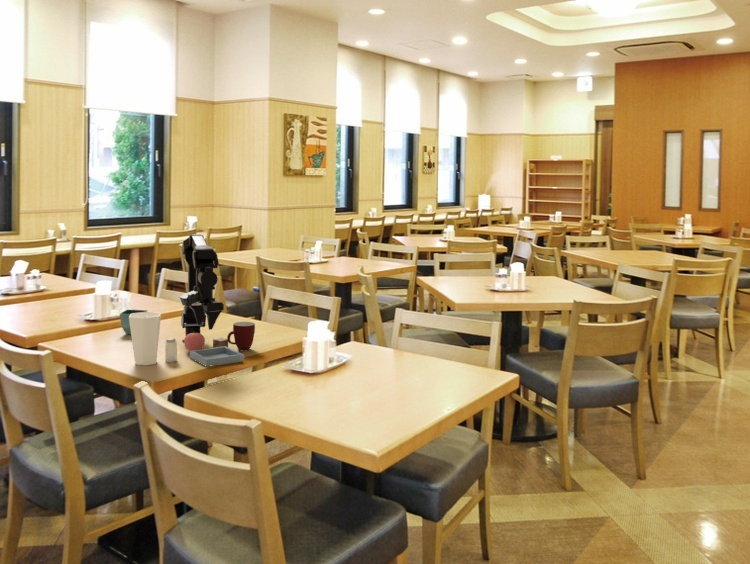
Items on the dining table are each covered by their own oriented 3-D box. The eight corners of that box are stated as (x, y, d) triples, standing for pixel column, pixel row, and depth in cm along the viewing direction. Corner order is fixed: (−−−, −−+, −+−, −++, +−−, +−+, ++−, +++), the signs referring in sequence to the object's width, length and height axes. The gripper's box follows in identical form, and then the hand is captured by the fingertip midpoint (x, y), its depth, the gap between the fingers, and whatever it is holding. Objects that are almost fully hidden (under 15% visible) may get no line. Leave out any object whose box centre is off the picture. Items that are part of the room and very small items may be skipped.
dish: (189, 358, 259) (189, 351, 258) (225, 353, 267) (225, 346, 267) (206, 367, 248) (206, 359, 247) (243, 361, 256) (243, 354, 256)
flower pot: (141, 336, 290) (140, 314, 288) (119, 335, 290) (119, 313, 288) (148, 331, 298) (148, 310, 297) (127, 330, 298) (126, 309, 297)
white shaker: (163, 360, 255) (163, 338, 253) (174, 358, 257) (174, 337, 256) (167, 362, 252) (167, 341, 250) (178, 361, 254) (178, 339, 253)
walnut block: (213, 349, 272) (213, 339, 271) (221, 347, 275) (221, 337, 275) (220, 351, 270) (220, 341, 269) (228, 349, 273) (228, 339, 272)
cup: (168, 361, 254) (167, 313, 251) (150, 368, 244) (149, 319, 241) (141, 357, 257) (140, 310, 255) (123, 364, 248) (121, 316, 245)
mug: (233, 354, 266) (233, 327, 264) (223, 349, 272) (223, 323, 270) (258, 350, 273) (258, 324, 271) (248, 346, 279) (248, 320, 277)
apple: (186, 355, 262) (186, 334, 261) (182, 350, 269) (182, 329, 267) (207, 353, 266) (207, 332, 264) (202, 349, 272) (202, 328, 271)
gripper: (171, 281, 254) (172, 324, 256) (194, 288, 240) (194, 334, 242) (201, 279, 261) (201, 321, 263) (224, 286, 246) (224, 331, 249)
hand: (204, 327), depth 254 cm, fingers open, 9 cm apart
